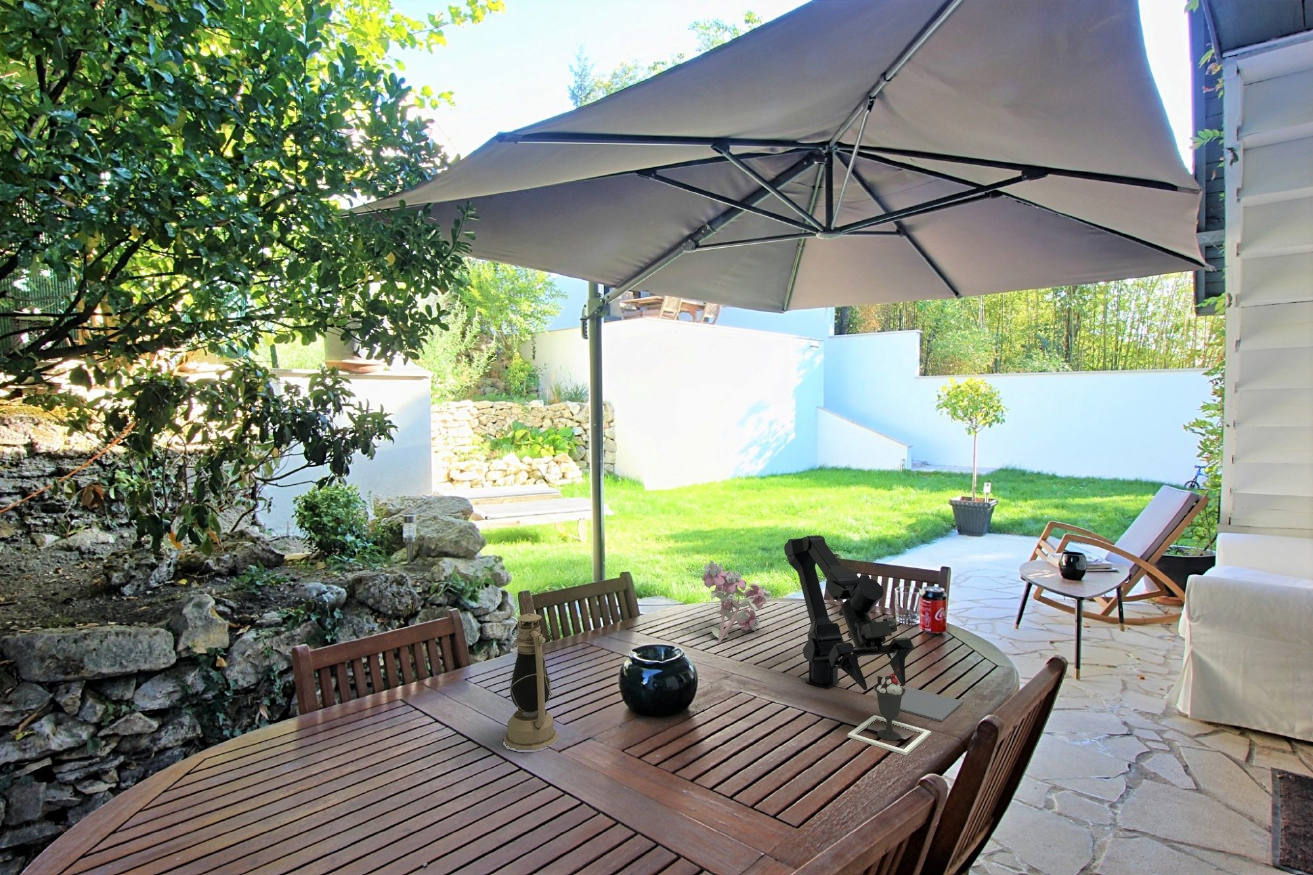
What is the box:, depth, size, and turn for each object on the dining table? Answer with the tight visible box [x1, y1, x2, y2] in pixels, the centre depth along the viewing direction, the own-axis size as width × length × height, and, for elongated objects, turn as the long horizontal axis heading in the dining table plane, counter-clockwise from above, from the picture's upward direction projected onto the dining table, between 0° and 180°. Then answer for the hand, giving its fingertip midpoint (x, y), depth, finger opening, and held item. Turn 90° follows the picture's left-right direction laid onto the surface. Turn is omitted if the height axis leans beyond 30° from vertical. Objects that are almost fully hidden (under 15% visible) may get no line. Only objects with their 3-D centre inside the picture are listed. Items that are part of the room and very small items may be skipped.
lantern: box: [503, 600, 558, 750], centre depth 156 cm, size 14×12×30 cm
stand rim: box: [847, 714, 932, 756], centre depth 157 cm, size 13×13×1 cm
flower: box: [701, 559, 772, 643], centre depth 228 cm, size 20×22×25 cm
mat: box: [900, 686, 964, 723], centre depth 174 cm, size 14×14×1 cm
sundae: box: [872, 669, 906, 741], centre depth 157 cm, size 7×7×15 cm
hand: (885, 687), depth 159 cm, fingers open, 9 cm apart
